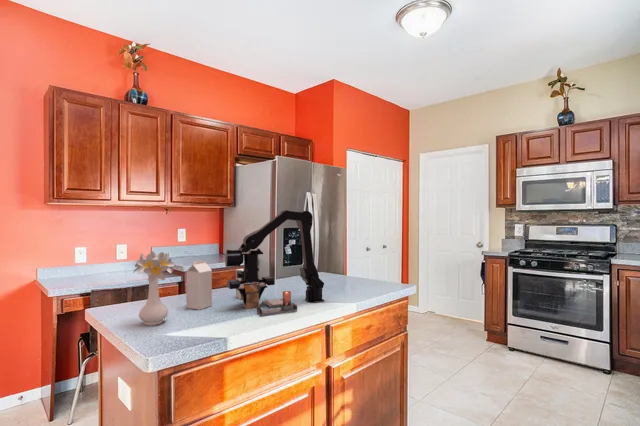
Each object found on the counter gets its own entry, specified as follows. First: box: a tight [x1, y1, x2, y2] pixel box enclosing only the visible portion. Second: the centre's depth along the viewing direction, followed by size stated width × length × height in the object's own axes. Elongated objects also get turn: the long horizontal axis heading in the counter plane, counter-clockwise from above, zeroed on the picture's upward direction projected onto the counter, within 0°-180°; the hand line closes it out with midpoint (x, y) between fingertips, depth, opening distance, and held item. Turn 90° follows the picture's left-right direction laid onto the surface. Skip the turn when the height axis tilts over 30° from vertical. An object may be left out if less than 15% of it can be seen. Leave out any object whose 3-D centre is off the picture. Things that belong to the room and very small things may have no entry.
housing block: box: [243, 291, 260, 310], centre depth 148 cm, size 5×5×6 cm
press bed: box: [262, 298, 283, 310], centre depth 152 cm, size 9×10×1 cm
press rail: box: [256, 302, 298, 318], centre depth 139 cm, size 15×4×2 cm, turn 117°
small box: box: [235, 268, 258, 300], centre depth 165 cm, size 8×6×13 cm
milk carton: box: [185, 259, 213, 311], centre depth 148 cm, size 7×7×19 cm
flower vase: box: [133, 250, 176, 326], centre depth 127 cm, size 13×18×25 cm
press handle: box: [279, 290, 293, 310], centre depth 141 cm, size 4×4×6 cm
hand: (251, 303), depth 148 cm, fingers closed on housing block, 5 cm apart
